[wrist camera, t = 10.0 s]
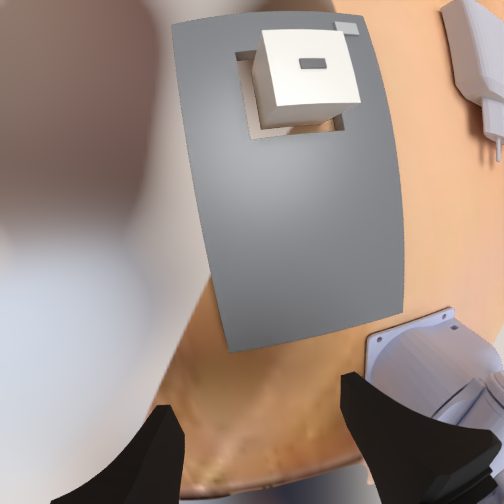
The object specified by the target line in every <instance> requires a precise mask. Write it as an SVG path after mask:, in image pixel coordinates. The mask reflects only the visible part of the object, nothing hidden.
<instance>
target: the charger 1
mask: <svg viewBox="0 0 504 504" xmlns="http://www.w3.org/2000/svg"><path fill="white" fill-rule="evenodd" d="M251 75H252V80H253V86H254V92H255V97H256V103H257V109H258V114H259V121H260V127H261V129H262V130H263V129H271V128H280V127H290V126H301V125H315V124H323V123H324V122H326V121H328V120H330V119H332V118H333V117H335V116H337V115H339V114H341V113H343V112H344V111H346V110H348V109H350V108H352V107H354V106H356V105H358V104H359V103H361V101H360V96H359V92H358V87H357V83H356V78H355V74H354V70H353V66H352V62H351V59H350V55H349V51H348V48H347V44H346V41H345V37H344V34H343V31H334V30H312V29H281V30H262V32H261V35H260V39H259V43H258V47H257V51H256V55H255V60H254V63H253V67H252V72H251Z"/></svg>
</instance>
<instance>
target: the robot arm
mask: <svg viewBox="0 0 504 504" xmlns="http://www.w3.org/2000/svg"><path fill="white" fill-rule="evenodd" d="M454 315H455V309H454V308H452V307H450V308H447V309H445V310H442V311H439V312H437V313H434V314H431V315H429V316H426V317H423V318H420V319H418V320H415V321H412V322H409V323H406V324H403V325H400V326H397V327H394V328H391V329H388V330H384V331H381V332H378V333H375V334H372V335H370V336H369V337H368V339H367V350H366V368H365V379H364V378H362V377H361V376H360V375H359V374H357V373H356V372H351V373H348V374H344V375H341V398H340V408H341V411H342V414H343V417H344V420H345V422H346V425H347V427H348V429H349V431H350V433H351V435H352V437H353V439H354V440H355V442H356V444H357V446H358V448H359V450H360V452H361V453H362V455H363V457H364V459H365V461H366V463H367V465H368V467H369V469H370V472H371V474H372V477H373V480H374V482H375V485H376V488H377V490H378V494H379V497H380V499H381V502H382V504H504V370H503V365H502V361H501V359H500V356H499V354H498V353H497V351H496V349H495V348H494V347H493V346H492V345H491V344H490V343H489V342H487V341H486V340H485V339H483V338H482V337H480V336H479V335H478V334H476V333H475V332H474V331H472V330H471V329H469V328H468V327H467V326H465V325H464V324H462V323H461V322H459V321H458V320H457V319H455V318H454ZM442 316H443V317H442ZM379 337H380V338H379ZM378 338H379V339H378ZM377 339H378V340H377ZM184 455H185V434H184V432H183V430H182V428H181V426H180V424H179V422H178V420H177V418H176V416H175V414H174V412H173V410H172V407H171V405H157V406H156V407H155V409H154V410H153V411H152V413H151V414H150V416H149V417H148V418H147V420H146V421H145V423H144V424H143V425H142V427H141V428H140V430H139V431H138V432H137V434H136V435H135V436H134V438H133V439H132V440H131V442H130V443H129V444H128V445H127V446H126V447H125V448H124V450H123V451H122V452H121V453H120V454H119V455H118V456H117V457H116V458H115V459H114V461H112V462H111V463H110V464H109V465H108V466H107V467H106V468H105V469H104V470H102V471H101V472H100V473H99V474H97V475H96V476H95V477H93V478H92V479H91V480H89V481H88V482H87V483H85V484H83V485H82V486H80V487H79V488H77V489H75V490H74V491H71V492H70V493H68V494H65V495H63V496H61V497H59V498H57V499H54V500H52V501H51V503H50V504H179V492H180V485H181V477H182V470H183V463H184Z"/></svg>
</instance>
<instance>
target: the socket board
mask: <svg viewBox="0 0 504 504" xmlns="http://www.w3.org/2000/svg"><path fill="white" fill-rule="evenodd" d="M171 28H172V37H173V47H174V55H175V63H176V72H177V80H178V87H179V95H180V103H181V110H182V116H183V123H184V129H185V136H186V143H187V148H188V155H189V161H190V167H191V173H192V178H193V184H194V190H195V195H196V201H197V206H198V212H199V217H200V222H201V227H202V232H203V237H204V242H205V247H206V252H207V257H208V262H209V267H210V271H211V276H212V281H213V285H214V290H215V294H216V299H217V303H218V308H219V312H220V316H221V320H222V325H223V329H224V333H225V337H226V341H227V346H228V350H229V353H234V352H240V351H246V350H252V349H257V348H263V347H268V346H273V345H278V344H283V343H288V342H293V341H297V340H302V339H306V338H311V337H315V336H319V335H324V334H328V333H332V332H336V331H340V330H344V329H347V328H351V327H355V326H359V325H362V324H366V323H369V322H373V321H376V320H380V319H383V318H387V317H390V316H393V315H396V314H400V313H403V298H404V225H403V208H402V195H401V184H400V175H399V167H398V159H397V152H396V145H395V139H394V133H393V127H392V121H391V116H390V111H389V106H388V102H387V97H386V93H385V88H384V84H383V80H382V76H381V72H380V69H379V65H378V61H377V58H376V55H375V51H374V48H373V45H372V41H371V38H370V35H369V32H368V29H367V26H366V24H365V21H364V18H363V16H359V15H351V14H342V13H330V12H310V11H270V12H252V13H240V14H231V15H224V16H215V17H209V18H202V19H197V20H191V21H186V22H181V23H177V24H172V25H171ZM281 29H312V30H334V31H343V34H344V37H345V41H346V44H347V48H348V51H349V55H350V59H351V62H352V66H353V70H354V74H355V78H356V83H357V87H358V92H359V96H360V101H361V103H359V104H358V105H356V106H354V107H352V108H350V109H348V110H346V111H344V112H343V113H341V114H339V115H337V116H335V117H333V119H334V124H335V130H336V131H328V132H315V133H304V134H294V135H284V136H276V137H268V138H260V139H254V140H251V139H250V134H249V128H248V122H247V116H246V111H245V105H244V99H243V94H242V88H241V83H240V77H239V71H238V66H237V61H241V60H250V59H255V55H256V51H257V47H258V43H259V39H260V35H261V32H262V30H281Z"/></svg>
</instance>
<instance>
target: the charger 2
mask: <svg viewBox="0 0 504 504" xmlns="http://www.w3.org/2000/svg"><path fill="white" fill-rule="evenodd" d="M441 12H442V16H443V20H444V24H445V28H446V32H447V37H448V41H449V46H450V51H451V57H452V63H453V69H454V76H455V84H456V87H457V88H458V89H459V90H460V92H461V93H462V95H463V96H464V97H465V98H466V99H467V100H469V101H471V102H473V103H475V104H477V105H479V106H481V107H482V116H483V132H484V135H485V136H486V137H487V138H488V139H490V140H493V141H495V142H496V161H497V162H500V161H501V147H500V144H501V145H504V22H503V21H501V20H500V19H499V18H498V17H496V16H495V15H494V14H493V13H491V12H490V11H489V10H487V9H486V8H485V7H483V6H482V5H481V4H479V3H478V2H476V1H475V0H453V1H452V2H450V3H448V4H447V5H445V6H444V7H442V8H441Z"/></svg>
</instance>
